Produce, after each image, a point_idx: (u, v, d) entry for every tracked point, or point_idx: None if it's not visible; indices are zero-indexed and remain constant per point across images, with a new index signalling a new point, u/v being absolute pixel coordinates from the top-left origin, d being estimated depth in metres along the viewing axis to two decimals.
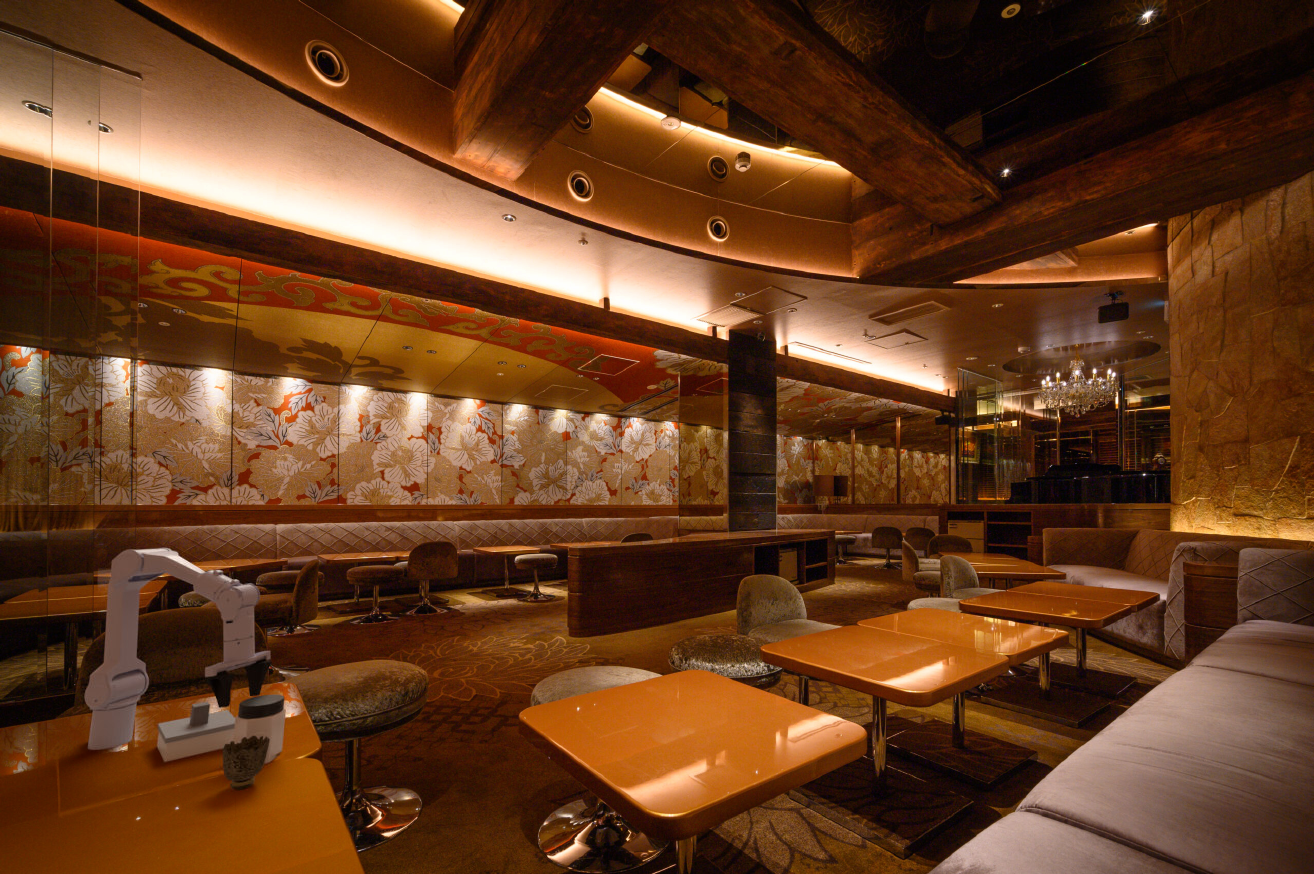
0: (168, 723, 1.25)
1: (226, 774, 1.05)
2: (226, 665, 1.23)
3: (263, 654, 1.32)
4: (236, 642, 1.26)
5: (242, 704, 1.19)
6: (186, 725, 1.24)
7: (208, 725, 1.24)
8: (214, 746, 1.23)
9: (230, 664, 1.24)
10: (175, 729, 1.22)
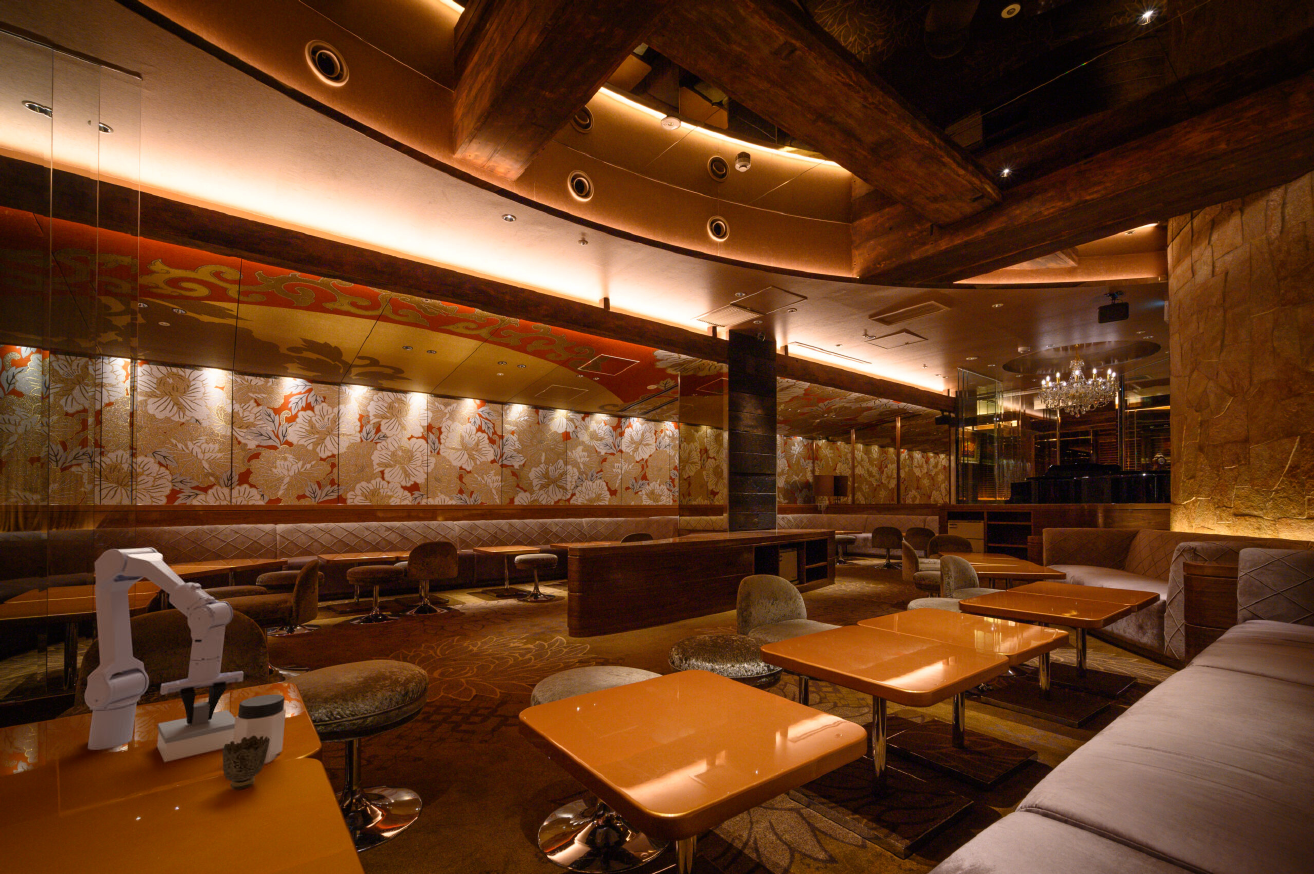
0: (168, 723, 1.25)
1: (226, 774, 1.05)
2: (178, 685, 1.23)
3: (231, 676, 1.30)
4: (194, 662, 1.25)
5: (242, 704, 1.19)
6: (186, 725, 1.24)
7: (208, 725, 1.24)
8: (214, 746, 1.23)
9: (183, 684, 1.23)
10: (175, 729, 1.22)
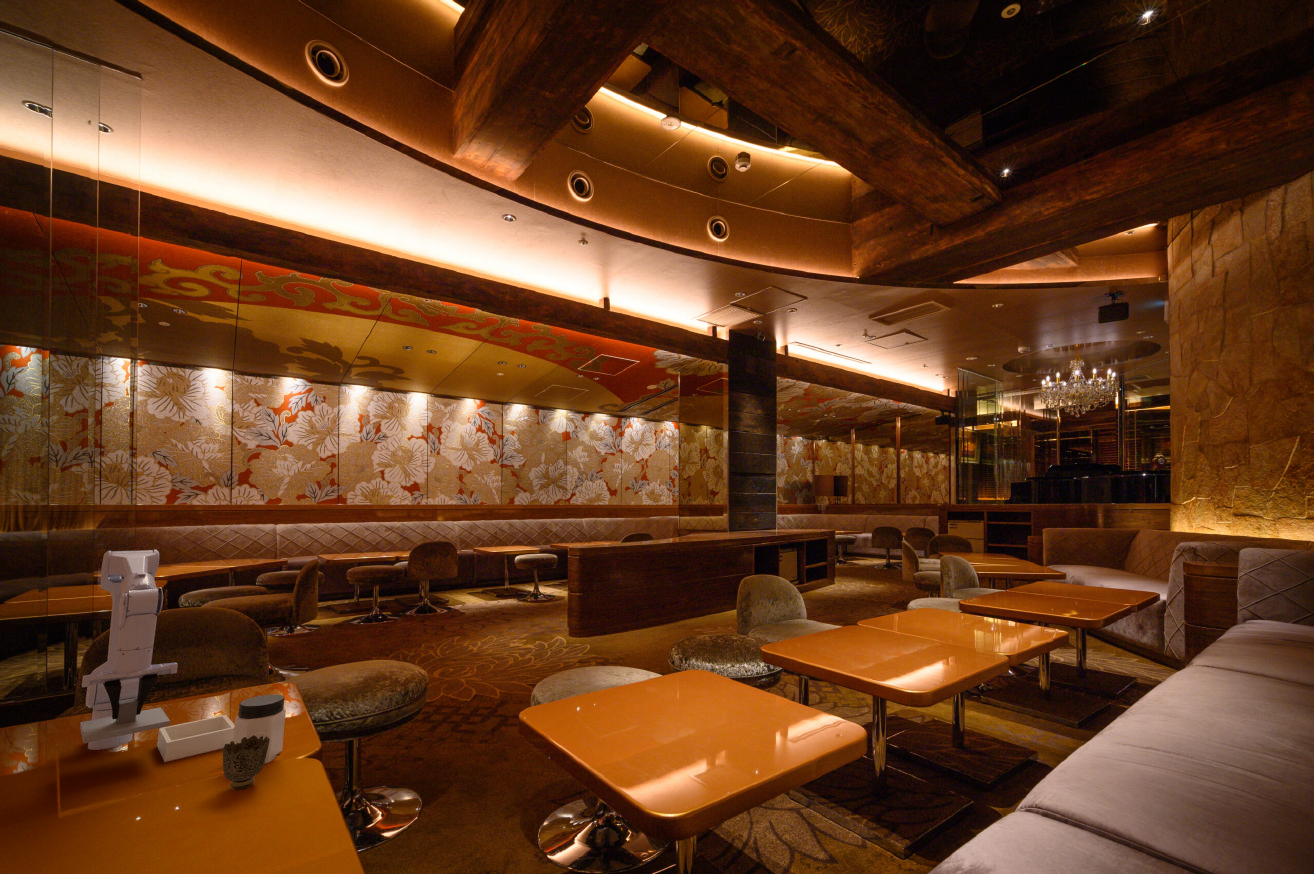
0: (92, 722, 1.16)
1: (226, 774, 1.05)
2: (102, 677, 1.13)
3: (163, 668, 1.20)
4: (121, 653, 1.15)
5: (242, 704, 1.19)
6: (111, 724, 1.15)
7: (135, 723, 1.15)
8: (214, 746, 1.23)
9: (107, 676, 1.14)
10: (97, 728, 1.12)
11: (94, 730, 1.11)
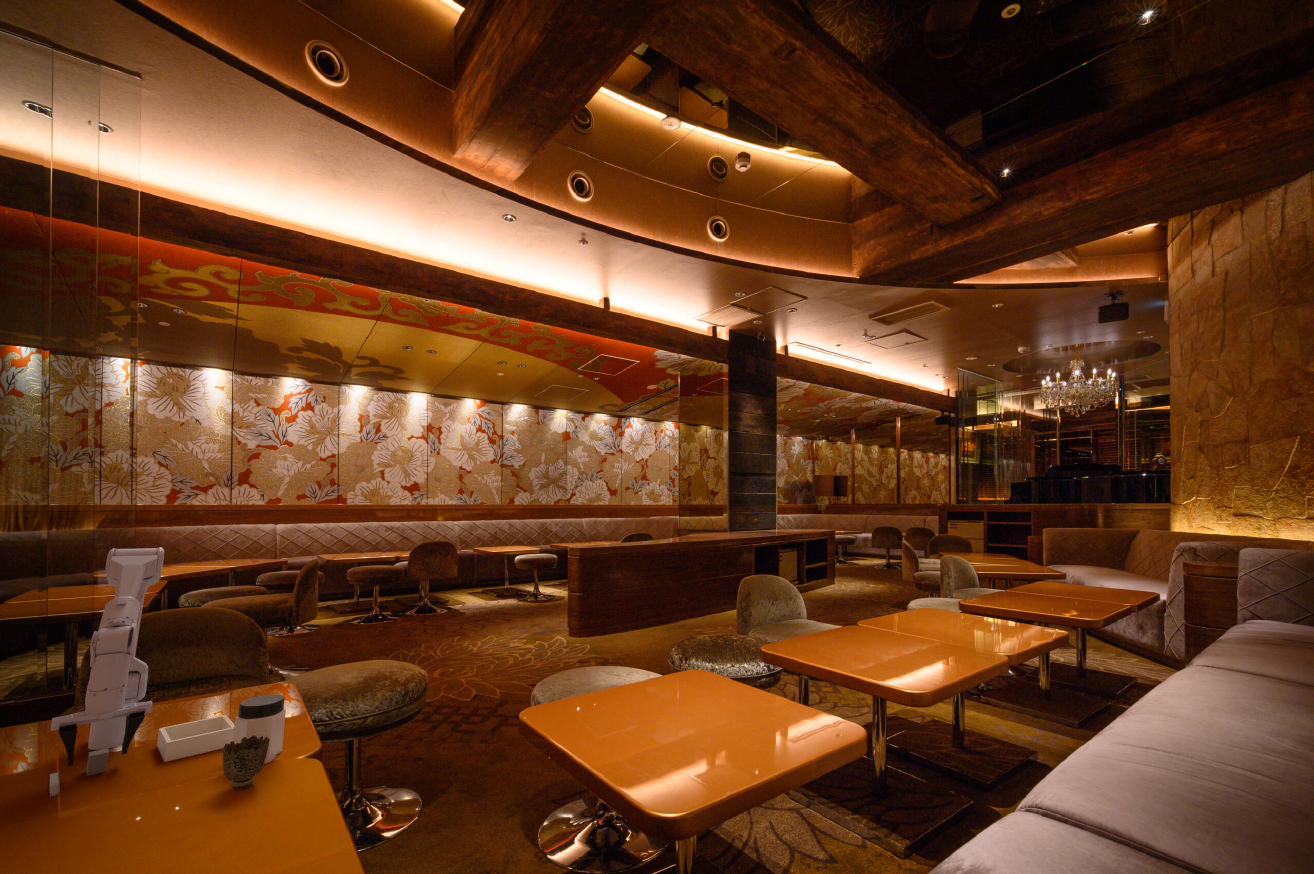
0: None
1: (226, 774, 1.05)
2: (72, 720, 1.09)
3: (137, 707, 1.16)
4: (92, 694, 1.12)
5: (242, 704, 1.19)
6: None
7: None
8: (214, 746, 1.23)
9: (77, 719, 1.10)
10: None
11: None
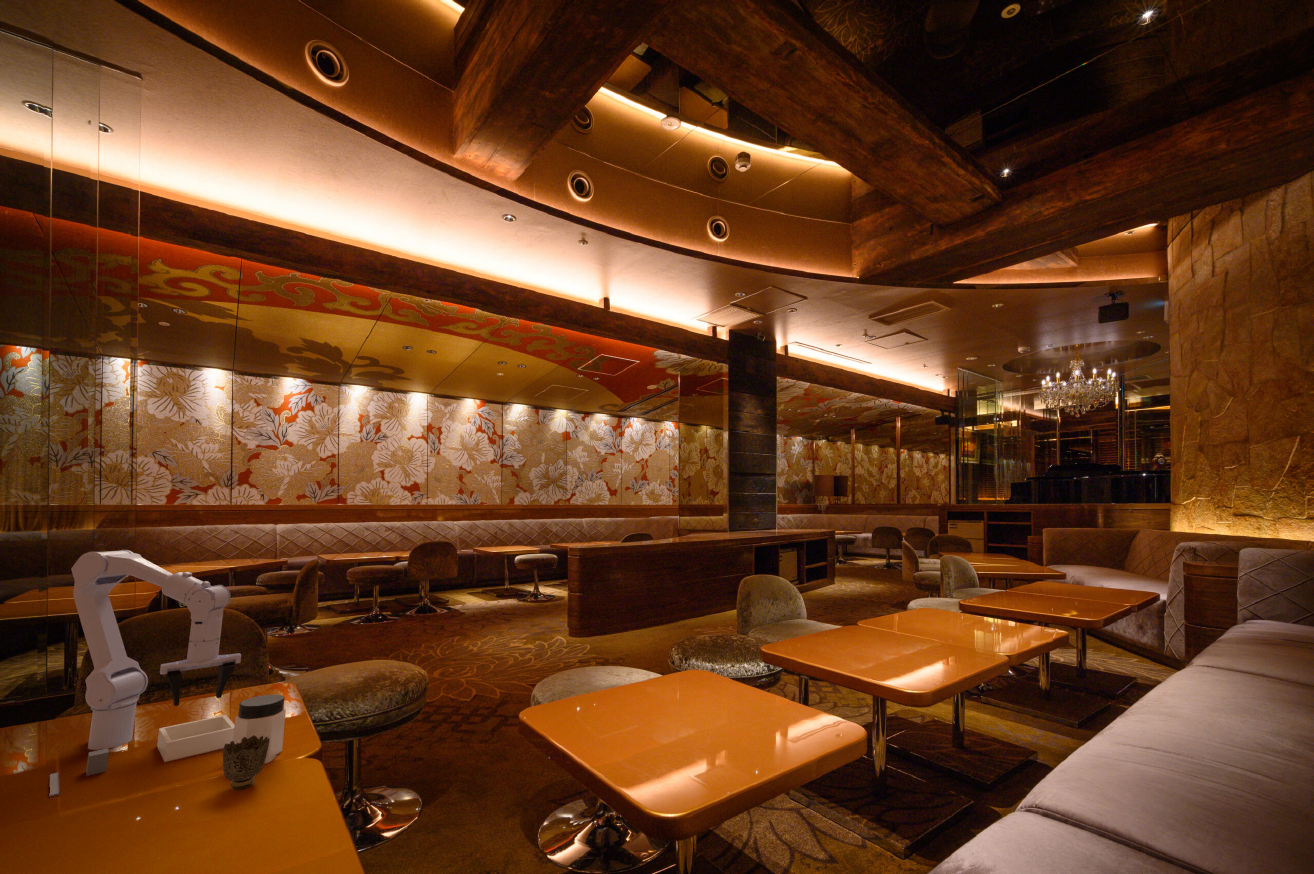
0: None
1: (226, 774, 1.05)
2: (177, 666, 1.26)
3: (229, 658, 1.33)
4: (193, 644, 1.28)
5: (242, 704, 1.19)
6: None
7: None
8: (214, 746, 1.23)
9: (182, 665, 1.26)
10: None
11: None
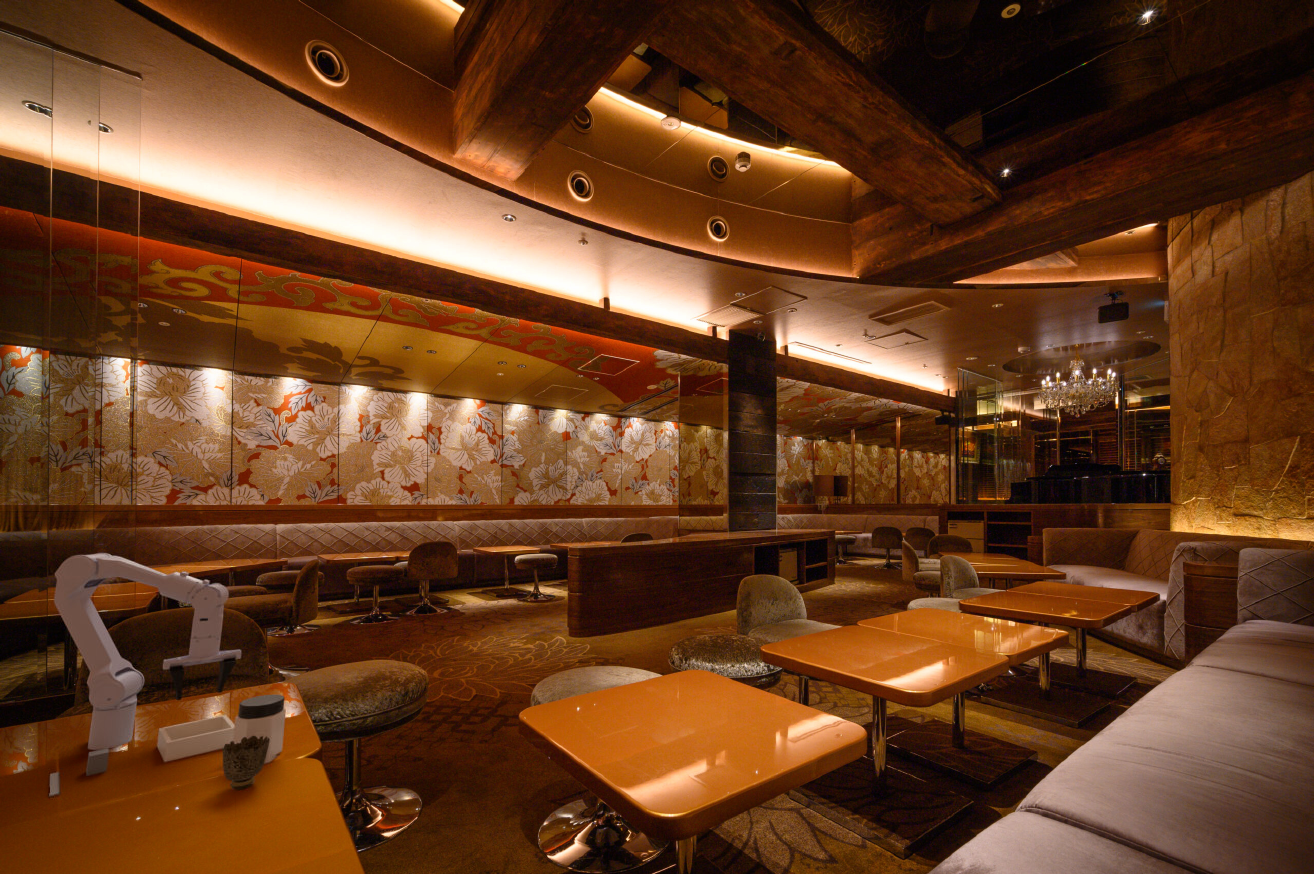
0: None
1: (226, 774, 1.05)
2: (180, 661, 1.30)
3: (229, 654, 1.37)
4: (195, 640, 1.32)
5: (242, 704, 1.19)
6: None
7: None
8: (214, 746, 1.23)
9: (184, 661, 1.30)
10: None
11: None
